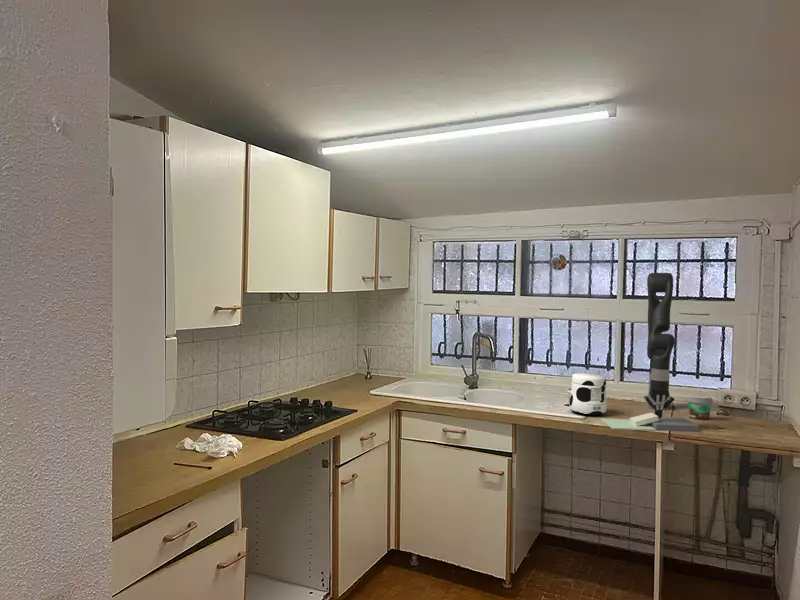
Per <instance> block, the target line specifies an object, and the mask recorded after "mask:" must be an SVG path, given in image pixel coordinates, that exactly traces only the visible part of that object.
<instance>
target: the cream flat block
mask: <svg viewBox="0 0 800 600" xmlns="http://www.w3.org/2000/svg"><path fill="white" fill-rule="evenodd" d="M629 420H630V422H631V423H632V424H634V425H636V426H639V425H643V424H647V423H651V422H655V421H659V418H658V416H657V415H655V413H654V412H649V413H645V414H644V413H643V414H640V415H636V416H632V417H629Z"/></svg>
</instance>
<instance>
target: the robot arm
mask: <svg viewBox="0 0 800 600" xmlns="http://www.w3.org/2000/svg"><path fill="white" fill-rule="evenodd" d="M646 283H647V285H646V287H647V288H646V289H647V300H648V301H647V304H648V306H647V328H648V329H647V332H648V333H647V345H646V346H647V347H646V355H647V358H648V359H649V360H650V361H651V367H650V368H649V371H648V372H649V373H648V375H649V376H648V377H649V378H648V393H647V395H644V396H643V399H644V400H645V402H646V403H647V407H648V408H650V409H653V410H654V414H655V415H657V416H658V418H661V417H663V411H664V410H668V409H669V407H670V406H671V404H672V403H673V402H674V401H675V398H674V397H673V396H671V394H670V391H669V390H670V363H671V355H672V351H673V349H674V346H675V342H676V340H675V339H676V338H675V337H674V335H673V334H671V333H666V332H668V331H670V327H671V307H672V301H673V293H674V276H673V274H672V273H671V272H651V273H649V274H648V275H647V279H646ZM656 293H658V294H659V293H664V296H663V298H662V299H661V301H660V299H659V297H658V296H657V294H656Z"/></svg>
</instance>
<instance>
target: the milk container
mask: <svg viewBox="0 0 800 600" xmlns="http://www.w3.org/2000/svg"><path fill="white" fill-rule="evenodd" d="M606 391H607V378H606V376H605V375H602V374H598V373H597V374H596V373H583V372H580V373H573V374H572V376H571V392H570V397H569V401H568V405H569V409H570V410H571V411H572V410H573V411H576V412H583V413H588V415H587V416H599V415H603V414H605V413H606V412H607V409H608V401H607V397H606V396H607V395H606ZM573 411H572V412H573Z"/></svg>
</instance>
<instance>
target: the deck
mask: <svg viewBox="0 0 800 600" xmlns="http://www.w3.org/2000/svg"><path fill="white" fill-rule="evenodd" d="M647 424H648V425H649V426H651V427H653V428H654V429H656V430H655V431H662V430H669V431H668V432H691V433H692V432H693V433H694V432H695V433H698V432H700V426H699V424H697V423H694V422H692V421H691V420H689V419H687V418H685V417H683V416H682V417H681V416H662V417H661V418H659V421H655V422H651V423H647Z"/></svg>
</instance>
